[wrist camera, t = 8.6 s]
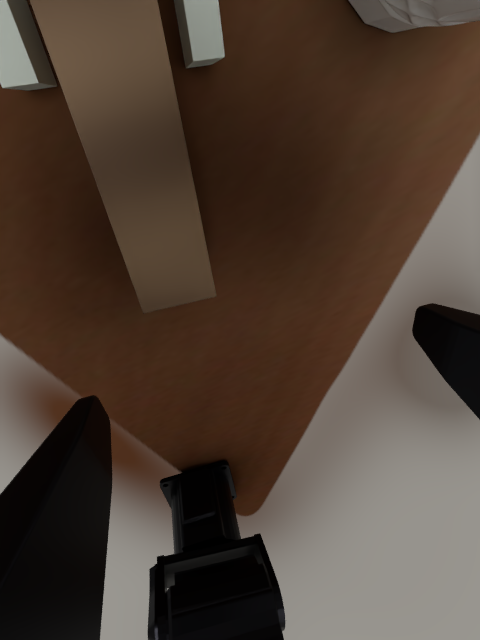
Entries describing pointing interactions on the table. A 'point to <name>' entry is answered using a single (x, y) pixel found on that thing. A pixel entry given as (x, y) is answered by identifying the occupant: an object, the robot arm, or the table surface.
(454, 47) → the table surface
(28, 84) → the bracket
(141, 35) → the brown wooden block
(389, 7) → the white cup
